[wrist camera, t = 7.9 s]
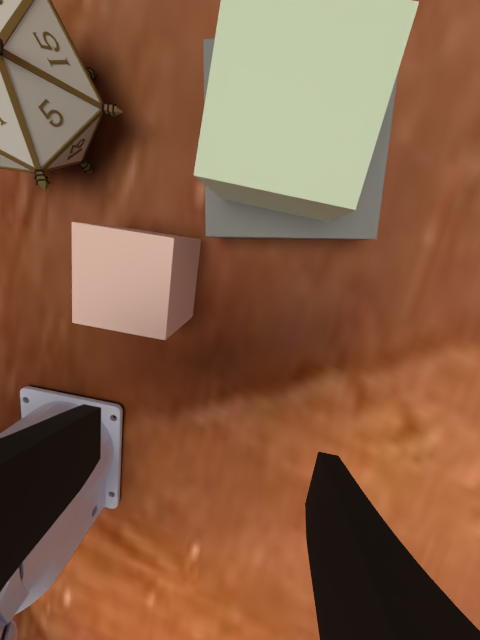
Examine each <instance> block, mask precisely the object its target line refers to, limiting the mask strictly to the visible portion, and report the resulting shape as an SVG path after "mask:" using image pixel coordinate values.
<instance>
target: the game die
mask: <svg viewBox="0 0 480 640" xmlns="http://www.w3.org/2000/svg"><path fill="white" fill-rule="evenodd" d="M96 75H97V73H96V72H95V71H94V70H93V69H91V68H90V67H89V68H88V69H87V68H85V66H84V64H83V62H82V60H81V58H80V56H79V54H78V52H77V50H76V48H75V46H74V44H73V42H72V40H71V39H70V37H69V35H68V33H67V31H66V29H65V27H64V25H63V23H62V21H61V19H60V17H59V15H58V13H57V11H56V9H55V7H54V5H53V3H52V1H51V0H0V168H1V169H9V170H16V171H24V172H31V173H36V175H35V180H36V185H39V186H40V187H41V188H43V189H44V190H45V191H46V189H47V187H48V184H50V182H49V181H48V177H47V176H46V175H45V174H44V173H45V172H49V171H53V170H56V169H60V168H64V167H68V166H72V165H75V164H80V165H81V168H82V169H84V171H85V173H86V172H88V173H91V174H93V173H92V165H89V162H86V161H84V157H85V155H86V152H87V150H88V148H89V145H90V143H91V141H92V138H93V136H94V134H95V131H96V129H97V127H98V124H99V122H100V120H101V117H102V115H103V113H107V114H109V116H110V117H111V116H114V118H116V116H118V115H120V114H121V113H123V112H122V111H121V110H120V109H119V108H118V107H117V106H116V104H113V105H111V103H107V104H104V103H103V101H102V99H101V97H100V95H99V93H98V91H97V89H96V87H95V85H94V83H93V81H92V80H96Z"/></svg>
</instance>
